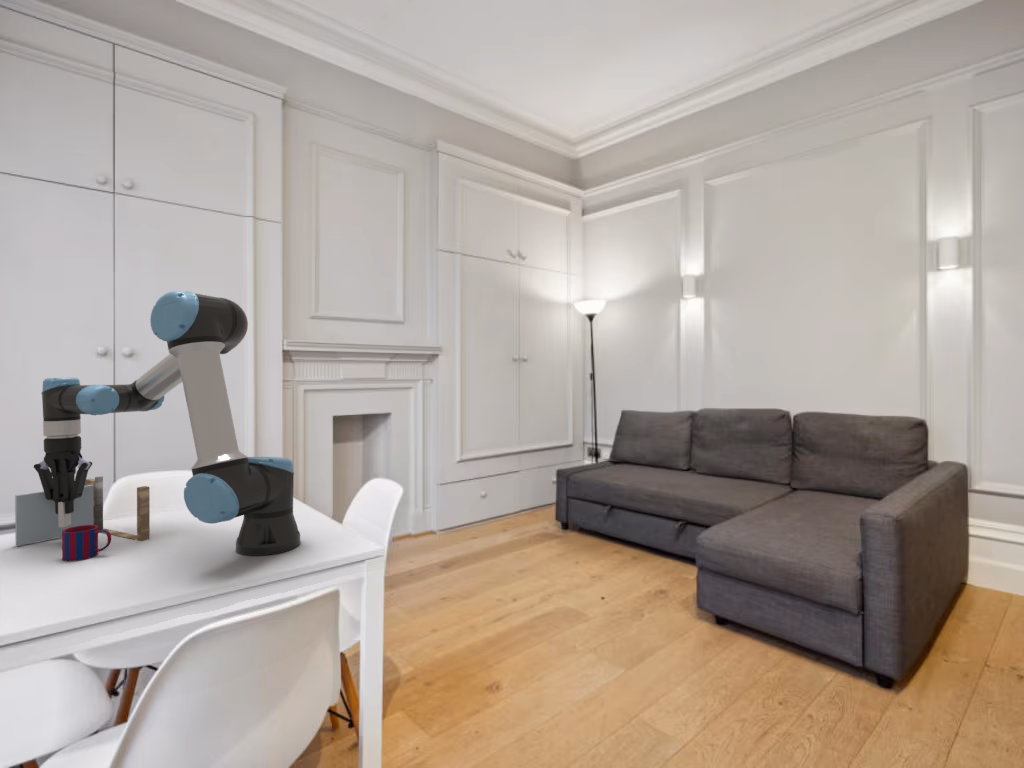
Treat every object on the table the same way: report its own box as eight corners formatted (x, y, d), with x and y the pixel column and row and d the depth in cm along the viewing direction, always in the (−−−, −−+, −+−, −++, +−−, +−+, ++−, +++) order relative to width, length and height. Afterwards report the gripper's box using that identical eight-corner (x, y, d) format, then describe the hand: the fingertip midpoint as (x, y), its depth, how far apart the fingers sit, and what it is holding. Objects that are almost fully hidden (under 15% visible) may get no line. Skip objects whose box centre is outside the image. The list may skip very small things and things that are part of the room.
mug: (77, 551, 132) (77, 524, 132) (118, 552, 132) (118, 524, 132) (54, 561, 125) (54, 532, 125) (97, 561, 125) (97, 532, 125)
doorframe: (150, 538, 142) (150, 482, 142) (141, 541, 140) (140, 484, 140) (91, 526, 153) (91, 474, 153) (82, 528, 151) (81, 476, 151)
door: (89, 529, 149) (89, 484, 149) (93, 530, 148) (93, 485, 148) (13, 543, 136) (13, 494, 136) (17, 545, 135) (16, 496, 135)
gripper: (98, 434, 144) (100, 520, 144) (47, 435, 142) (49, 522, 143) (78, 437, 136) (81, 529, 137) (24, 438, 135) (27, 531, 135)
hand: (64, 525), depth 140 cm, fingers closed
